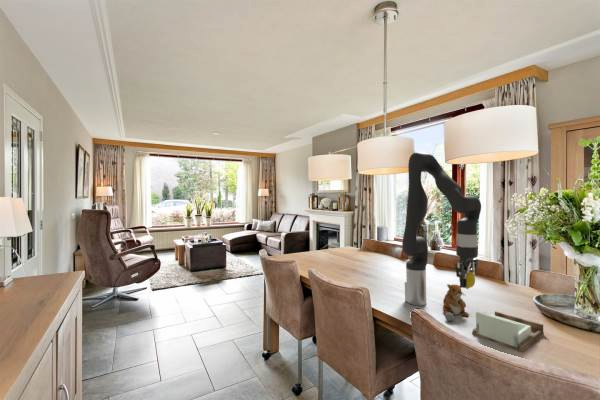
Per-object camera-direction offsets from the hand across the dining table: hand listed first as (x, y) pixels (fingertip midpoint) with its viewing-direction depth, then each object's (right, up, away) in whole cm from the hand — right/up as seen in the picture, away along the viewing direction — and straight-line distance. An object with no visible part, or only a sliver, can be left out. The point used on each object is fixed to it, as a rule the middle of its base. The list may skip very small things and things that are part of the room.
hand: (466, 285), depth 115 cm
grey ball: (-4, -17, +5) cm, 18 cm away
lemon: (0, -2, 0) cm, 2 cm away
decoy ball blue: (+10, -16, +5) cm, 20 cm away
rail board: (+11, -16, -7) cm, 21 cm away
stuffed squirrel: (+3, -17, +15) cm, 23 cm away
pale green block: (+8, -16, -10) cm, 20 cm away
